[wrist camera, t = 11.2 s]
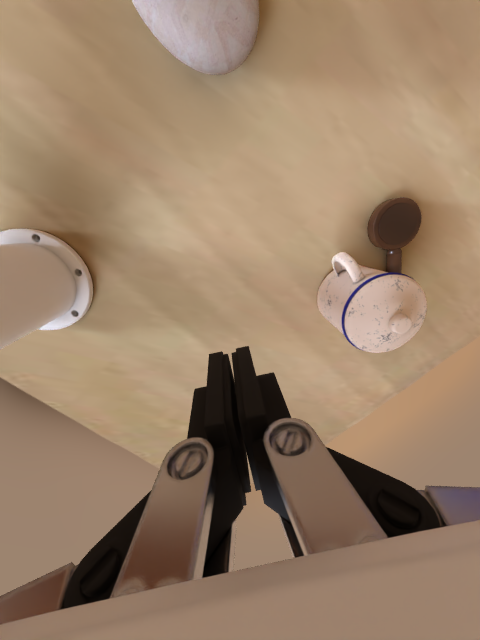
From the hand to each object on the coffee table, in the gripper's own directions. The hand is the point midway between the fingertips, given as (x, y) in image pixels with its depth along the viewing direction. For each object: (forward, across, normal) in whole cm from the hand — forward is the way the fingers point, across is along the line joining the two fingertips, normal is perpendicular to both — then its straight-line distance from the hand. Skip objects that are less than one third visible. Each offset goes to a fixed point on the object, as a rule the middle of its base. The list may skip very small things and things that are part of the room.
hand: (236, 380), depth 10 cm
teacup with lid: (+23, -16, +5) cm, 28 cm away
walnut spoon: (+23, -23, +4) cm, 33 cm away
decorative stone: (+24, -2, -25) cm, 35 cm away
